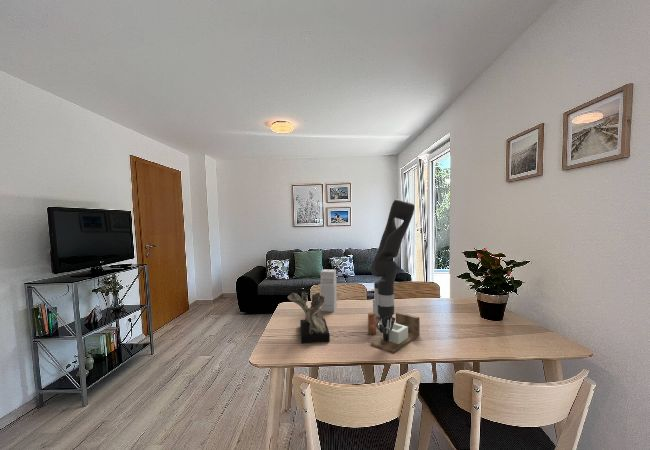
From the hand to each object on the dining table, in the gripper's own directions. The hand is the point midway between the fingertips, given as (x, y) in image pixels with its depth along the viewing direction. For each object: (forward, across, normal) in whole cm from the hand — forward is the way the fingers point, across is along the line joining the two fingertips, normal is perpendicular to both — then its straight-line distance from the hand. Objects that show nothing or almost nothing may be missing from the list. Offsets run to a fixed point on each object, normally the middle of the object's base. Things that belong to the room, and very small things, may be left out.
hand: (386, 340), depth 130 cm
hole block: (+1, -7, 0) cm, 8 cm away
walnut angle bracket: (+2, -8, 0) cm, 9 cm away
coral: (+3, +16, -36) cm, 39 cm away
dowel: (+2, -7, -13) cm, 15 cm away
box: (+3, -20, -55) cm, 59 cm away
